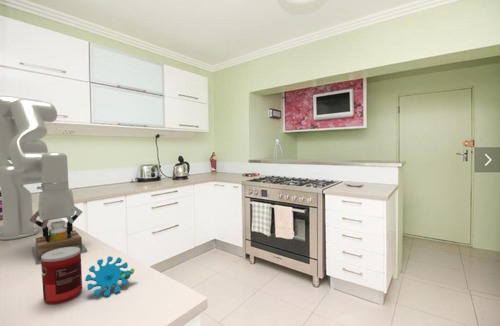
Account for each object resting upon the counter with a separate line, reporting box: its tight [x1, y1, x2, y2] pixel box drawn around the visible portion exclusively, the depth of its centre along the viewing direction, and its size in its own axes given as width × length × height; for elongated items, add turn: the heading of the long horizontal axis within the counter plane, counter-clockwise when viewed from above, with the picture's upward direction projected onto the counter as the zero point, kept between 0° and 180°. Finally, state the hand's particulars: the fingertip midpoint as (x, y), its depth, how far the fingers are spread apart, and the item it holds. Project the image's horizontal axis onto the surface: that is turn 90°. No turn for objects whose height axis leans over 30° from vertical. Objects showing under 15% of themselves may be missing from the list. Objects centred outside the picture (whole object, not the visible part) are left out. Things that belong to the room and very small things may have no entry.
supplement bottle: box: [48, 220, 68, 242], centre depth 90 cm, size 5×5×10 cm
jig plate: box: [31, 243, 88, 265], centre depth 90 cm, size 18×14×3 cm
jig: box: [35, 229, 83, 258], centre depth 90 cm, size 12×12×4 cm
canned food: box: [40, 247, 83, 305], centre depth 61 cm, size 8×8×11 cm
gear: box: [84, 256, 135, 297], centre depth 65 cm, size 11×6×10 cm
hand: (58, 235), depth 90 cm, fingers open, 5 cm apart
